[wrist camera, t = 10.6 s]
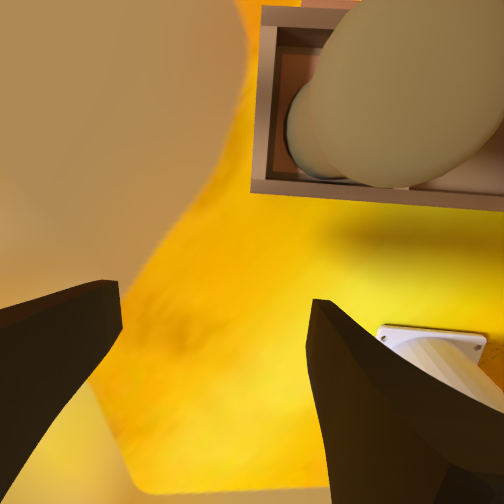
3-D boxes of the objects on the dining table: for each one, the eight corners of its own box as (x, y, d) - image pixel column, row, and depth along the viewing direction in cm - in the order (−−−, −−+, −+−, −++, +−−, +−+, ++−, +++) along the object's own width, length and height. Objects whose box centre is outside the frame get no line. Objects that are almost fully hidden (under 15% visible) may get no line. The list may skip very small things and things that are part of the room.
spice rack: (636, 216, 18) (706, 226, 15) (253, 187, 19) (250, 192, 16) (728, 42, 15) (838, 13, 12) (264, 20, 16) (262, -11, 13)
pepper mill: (364, 48, 15) (564, -190, 5) (398, 151, 17) (605, 140, 6) (266, 105, 16) (256, 12, 6) (306, 196, 18) (354, 248, 8)
